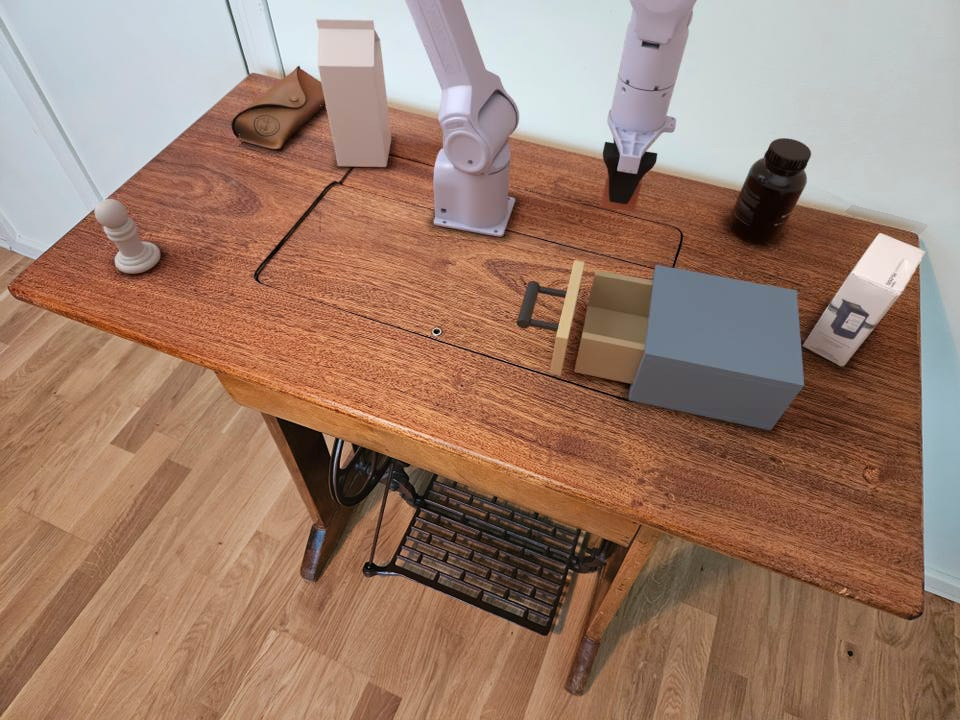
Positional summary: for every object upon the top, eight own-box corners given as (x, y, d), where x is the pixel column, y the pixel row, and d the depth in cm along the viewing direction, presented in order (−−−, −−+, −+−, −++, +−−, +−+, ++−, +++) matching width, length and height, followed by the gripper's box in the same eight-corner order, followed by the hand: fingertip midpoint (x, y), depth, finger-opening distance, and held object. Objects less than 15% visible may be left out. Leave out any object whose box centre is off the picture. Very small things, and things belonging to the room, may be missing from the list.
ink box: (828, 304, 74) (880, 228, 65) (870, 325, 73) (929, 249, 63) (800, 346, 70) (851, 271, 61) (843, 369, 68) (902, 295, 59)
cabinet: (628, 400, 66) (645, 353, 59) (639, 314, 73) (656, 264, 67) (770, 431, 63) (804, 385, 57) (767, 339, 71) (797, 290, 65)
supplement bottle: (782, 248, 80) (824, 170, 71) (728, 241, 81) (762, 162, 72) (777, 215, 84) (816, 136, 75) (726, 208, 85) (758, 129, 76)
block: (600, 206, 73) (605, 177, 69) (604, 186, 75) (610, 157, 72) (634, 212, 72) (641, 183, 69) (637, 191, 74) (644, 162, 71)
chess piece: (109, 274, 76) (72, 216, 69) (126, 245, 79) (92, 186, 72) (152, 276, 76) (119, 218, 69) (168, 246, 79) (138, 188, 72)
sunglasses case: (281, 149, 91) (250, 108, 88) (253, 161, 96) (223, 122, 92) (343, 91, 102) (318, 52, 98) (315, 103, 106) (291, 66, 102)
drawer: (508, 365, 67) (511, 327, 62) (529, 291, 74) (534, 252, 69) (676, 400, 65) (694, 364, 60) (682, 321, 71) (698, 282, 66)
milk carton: (386, 168, 90) (369, 33, 75) (337, 167, 90) (311, 32, 75) (391, 140, 94) (376, 7, 79) (345, 139, 94) (321, 6, 79)
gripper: (684, 121, 57) (650, 235, 67) (690, 47, 65) (659, 159, 76) (607, 110, 58) (586, 224, 68) (623, 38, 66) (602, 150, 77)
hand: (620, 189), depth 72 cm, fingers closed on block, 4 cm apart
